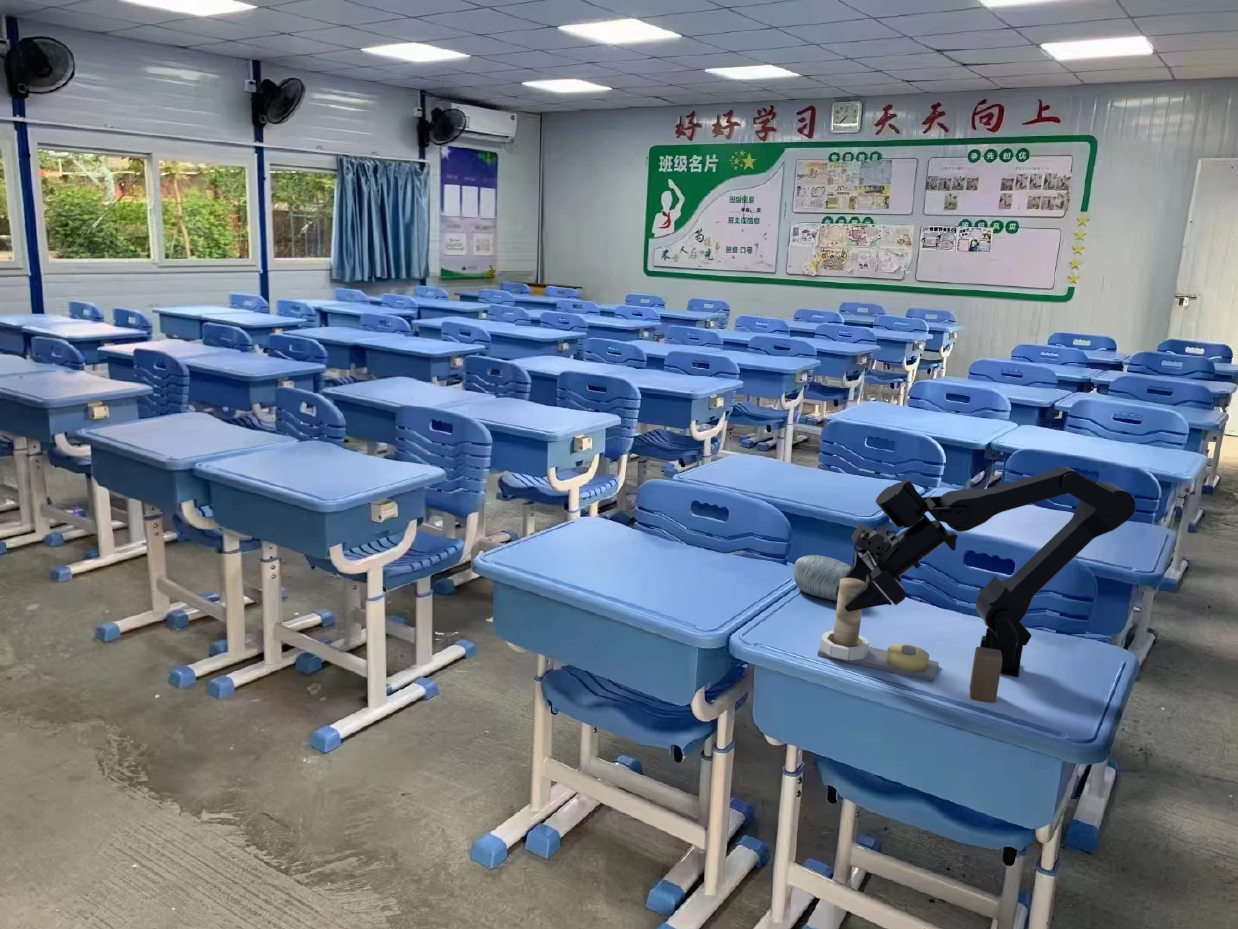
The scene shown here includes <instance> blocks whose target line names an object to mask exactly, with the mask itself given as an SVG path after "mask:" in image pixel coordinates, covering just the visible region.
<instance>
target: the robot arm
mask: <svg viewBox="0 0 1238 929" xmlns="http://www.w3.org/2000/svg"><path fill="white" fill-rule="evenodd" d="M1067 494H1068V495H1070V496H1073V497H1075V498H1076V499H1078V503H1077V505H1076V508H1075V510H1074V512H1073V516H1072V517H1071V519H1070V520H1069V521H1068V522H1066V524H1065V525H1064V526H1063V527H1062V528H1061V529H1060V530H1059V531H1058V532H1056V534H1054V536H1052V537H1051V539H1049V540H1048V541H1047V542H1046V543H1045V544H1044V545H1043V546H1042V548H1040V549H1039V550H1038V551H1037V552H1036V553H1035V554H1034V555H1033V556H1032V557H1031V558H1030V559H1029V560H1028V561H1027V562H1026V563H1025V564H1024V565H1023V566H1022V567H1021V568H1019V570H1017V572H1015V574H1014V575H1012V576H1010V577H1008V578H1006V579H1003V580H1000V578H998V576H996V575H995V576H993V577H992V578H991V580H990V581H989V582H988V583H987V584H986V586H984V587H983V588H981V589H979V590H978V593H979V595H978V596H977V598H976V600H975V609H976V612H977V614H978V615H979V617H980V618H981V619H982V621H984V625H985V626H986V627H987V628H986V631H985V635H982V636H981V640H980V645H979V647H983V648H989V649H995V650H1000V651H1001V655H1002V667H1001V673H1000V675H1005V676H1006V675H1007V676H1011V677H1015V678H1016V677H1017V678H1018V677H1020V672H1021V661H1022V660H1021V659H1022V655H1023V648H1024V646H1027V645H1028V643H1029V641H1030V639H1031V638H1032V634H1031V633H1030V632H1029V630H1028V629H1027V628H1026V627H1025V626H1024V624H1023V623H1022V622H1021V621H1022V620H1023V619H1024V618H1025V616H1026V614H1027V613H1028V611H1029V609H1030V606H1031V605H1032V604H1031V603H1032V601H1033V599H1034V597H1035V596H1036V594H1038V593H1039V592H1040V591H1041V590H1042V589H1043V588H1044V587H1045V586H1046V585H1047V584H1049V583H1050V581H1051V580H1052V579H1053V578H1054V577H1055V576H1056V575H1057V574H1059V572H1061V571H1062V570H1063V569H1064V568H1065V566H1067V565H1068V564H1069V563H1070V562H1071V561H1072V560H1074V558H1076V557H1077V555H1078V554H1079V553H1080V552H1082V550H1083V549H1085V548H1086V547H1087V545H1089V544H1090V543H1091V542H1092V541H1093V540H1094V539H1096V538H1098V537H1100V536H1102V535H1105V534H1108V533H1110V532H1112V531H1115V530H1117V528H1119V527H1121V526H1122V525H1123V524H1125V523H1126V522H1128V521H1130V519H1131V518H1132V517H1133V516H1134V515H1135V512H1136V501H1135V498H1134V497H1133V495H1132V494H1131V493H1129V492H1127V491H1126V490H1124V489H1123V488H1121V487H1119V486H1117V485H1115V484H1114V483H1112V482H1109V481H1094V480H1093V479H1091V478H1089V477H1087V476H1084V475H1083V474H1080V472H1077V471H1076V470H1074V469H1072V468H1071V467H1069V466H1066V465H1059V466H1058V467H1056V468H1054V469H1052V470H1049V471H1044V472H1041V473H1038V474H1035V475H1031V476H1027V477H1024V478H1020V479H1017V480H1013V481H1010V482H1006V483H1003V484H999V485H995V486H993V487H989V488H964V489H956V490H949V491H947V492H945V493H943V494H942V495H939V496H938V495H936V496H923V497H922V495H921V494H920V493H919V491H917V489H916V487H915V486H914V484H913V483H912V482H911V481H910V480H909V479H908V478H905V479H903V480H902V481H900V482H896V483H894V484H892V485H890V486H887V487H886V488H884V489H883V490H882V491H881V493H879V495H877V497H876V499H875V504H876V505H877V506H878V507H879V508H880V509H881V511H882V512H883V514H885V515H886V516H887V518H889V520H890V521H891V522H892V523H893V525H894V526H895V527H896V528H902V527H903V528H904V531H902V532H901V533H900V534H898V535H897V534H896V533H895V532H894V533H890V534H889V535H888V536H885V535H884V534H883V533H881V532H879V531H877V530H876V529H873V528H871V527H869V526H868V525H866V524H864V523H861V522H859V524H858V525H857V527H856V529H855V531H854V532H853V534H852V535H851V537H850V539H851V540H852V542H853V544H854V545H855V548H856V550H854V551H853V552H854V560H853V561H854V563H853V565H852V566H850V567H851V569H850V570H849V572H848V573H847V574H846V576H845V577H844V578H855V579H859V580H861V581H863V582H865V586H864V587H863V588H862V589H861V590H860V591H859V592H858V593H857V594H856V595H855V596H854V597H853V598H852V599H851V600H850V601H849V602H848V603H847V604H846V605H845V607H844V608H845V609H846V610H847V611H848V612H850V611H855V610H860V609H862V610H863V609H864V610H865V609H868V608H872V607H873V608H874V607H879V606H885V605H887V606H891V605H892V604H894V606H898V605H899V604H901V603H902V602H903V601H905V600H906V594H907V591H906V590H905V588H904V587H903V585H902V583H900V582H901V581H903V579H902V578H901V576H903V575H904V574H905V573H907V572H908V571H909V570H911V568H913V567H914V568H915V569H916V570H918V569H919V568H920V567H921V566H922V564H921V563H920V562H921V561H922V560H923V559H925V558H926V557H928V556H929V555H930V554H932V553H933V552H934V551H935V550H937V549H938V548H939V547H941V546H942V545H943V544H946V545H947V546H948V548H949V549H950V550H951V551H953V552H954V551H956V549H957V538H958V534H957V533H956V532H961V533H962V532H968V531H971V530H973V529H974V528H976V527H979V526H980V525H983V524H985V523H987V522H989V520H990V519H992V518H993V517H994V516H996V515H998V514H1000V513H1003V512H1007V511H1011V510H1013V509H1018V508H1021V507H1024V506H1028V505H1032V504H1035V503H1038V502H1039V503H1040V502H1041V501H1043V502H1044V501H1045V500H1050V499H1052V498H1056V497H1059V496H1063V495H1067ZM927 512H928V513H930V516H932V517H933V518H934V519H933V520H931V519H930V518H929V517H928V516H927V515H926V513H927ZM943 523H945V524H946V525H947V526H948V527H949V528H950V529H952V530H954V531H949V530H948V529H947V528H946V527H945V526H944V525H943ZM955 531H956V532H955ZM837 590H838V591H839V585H838V587H837Z"/></svg>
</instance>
